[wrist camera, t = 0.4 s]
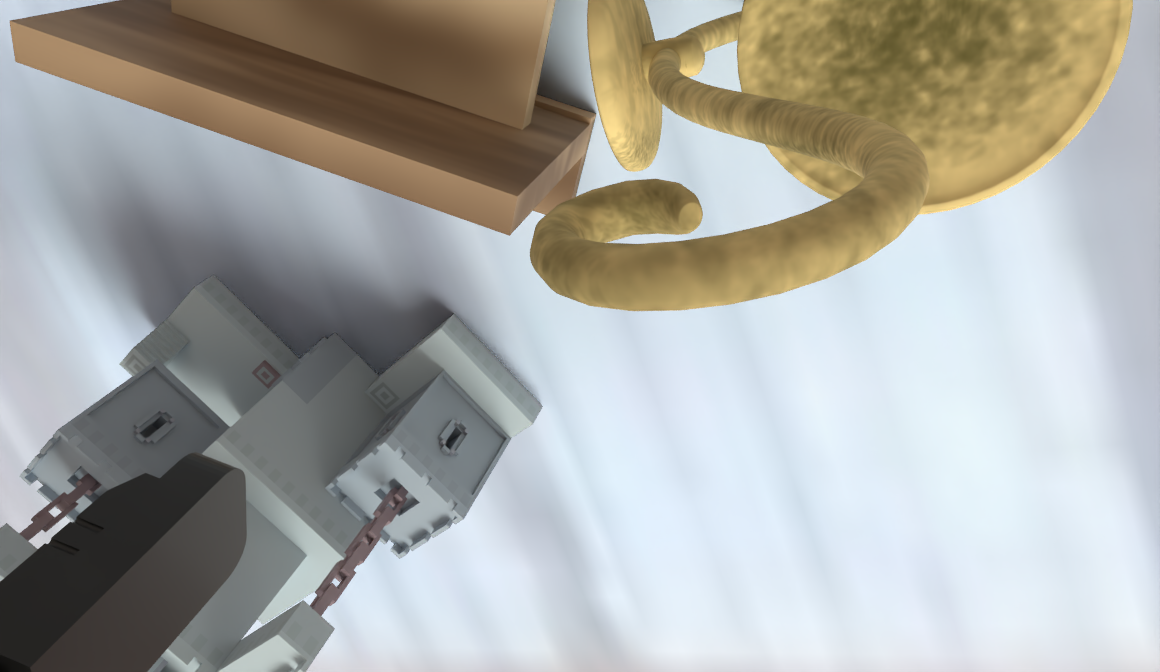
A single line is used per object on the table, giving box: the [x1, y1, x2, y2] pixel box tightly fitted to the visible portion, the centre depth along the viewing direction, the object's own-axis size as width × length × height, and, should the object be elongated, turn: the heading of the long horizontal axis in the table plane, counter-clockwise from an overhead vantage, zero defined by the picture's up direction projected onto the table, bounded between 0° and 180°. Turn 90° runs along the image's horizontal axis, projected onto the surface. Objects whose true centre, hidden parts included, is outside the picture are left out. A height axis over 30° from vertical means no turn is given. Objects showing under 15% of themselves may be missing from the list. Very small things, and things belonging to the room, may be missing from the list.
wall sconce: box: [530, 0, 1133, 311], centre depth 21 cm, size 14×10×25 cm
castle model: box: [0, 275, 543, 672], centre depth 37 cm, size 17×17×25 cm
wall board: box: [10, 0, 596, 236], centre depth 32 cm, size 11×20×10 cm, turn 76°
